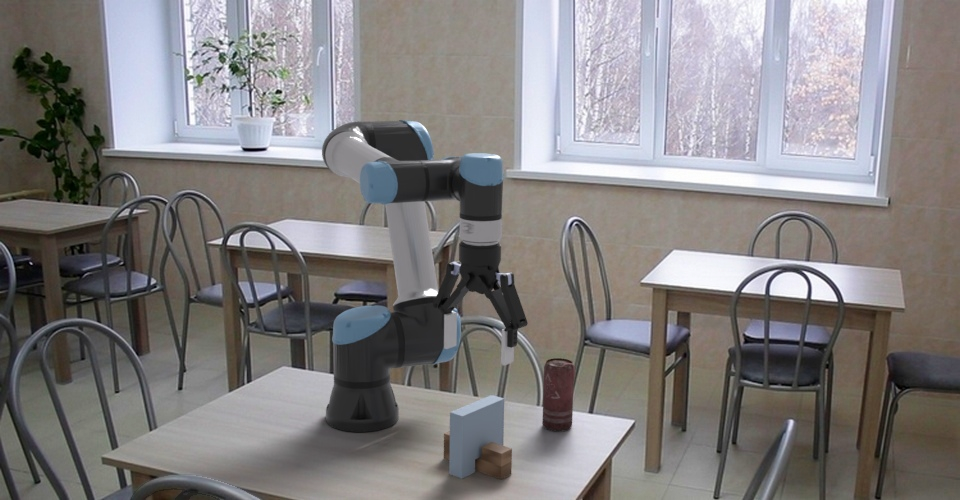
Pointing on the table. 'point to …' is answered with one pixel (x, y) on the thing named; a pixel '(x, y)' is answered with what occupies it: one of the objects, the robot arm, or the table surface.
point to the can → (558, 394)
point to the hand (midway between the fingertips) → (478, 355)
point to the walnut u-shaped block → (488, 458)
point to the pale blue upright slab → (474, 432)
